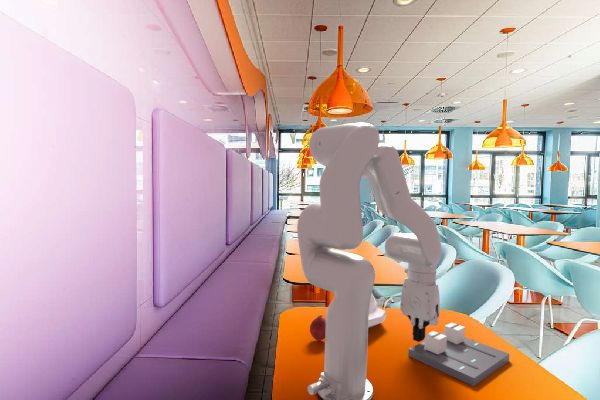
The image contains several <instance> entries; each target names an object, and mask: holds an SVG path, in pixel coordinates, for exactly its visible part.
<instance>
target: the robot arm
mask: <svg viewBox="0 0 600 400" xmlns="http://www.w3.org/2000/svg"><path fill="white" fill-rule="evenodd" d="M380 141H381V140H380V132H379V130H378V128H377V126H375V125H373V124H370V123H366V122H355V123H354V122H351V123H344V124H339V125H331V126H324V127H323V126H322V127H320V128H317V129H316V130H315V131H314V132H313V133H312V134H311V136H310V138H309V142H308V143H309V144H308V147H309V148H308V149H309V153H310V154H311V156H312V158H313V160H315V161H316V162H317V163H318V164H320V165H322V166H324V170H323V171H322V174H321V177H320V180H319V187H318V188H319V202H320V203H312V204H309V205H307V206H306V207H304V209H303V210H301V213H300V214H299V216H298V220H297V226H296V227H297V228H296V232H297V233H296V234H297V241H298V247H299V249H298V250H299V255H300V261H301V268H302V272H303V276H304V278H305V279H306V281H307V282H308V283H309V284H310V285H312V286H314V287H317V288H320V289H323V290H326V291H327V292H330V293H332V294H334V295H333V296H334V297H333V299H332V301H331V302H330V304H329V305H328V306H327V309H326V314H325V320H326V331H325V338H324V339H325V341H324V364H323V365H324V369H323V372H321V373H320V377H319V378H318V380H317V381H316V382H313V383H311V384H310V385H308V386H307V392H308V393H309V395H310V396H314V395H315V394H318V395H319V397H320V398H322V399H323V400H372V398H373V395H374V393H373V392H374V388H373V385H372V383H371V382H370V381H369V380H368V379H367V373H368V372H367V370H368V369H367V367H368V366H367V365H368V345H369V344H368V343H369V341H368V340H369V328H368V319H369V306H370V299H371V294H372V293H373V289H374V286H375V280H376V271H375V267H374V266H373V265H372V263H371V262H370V261H369V260H368V259H367V258H365V257H364V256H361V255H360V254H359V255H358V254H356V253H352V252H349V251H353V250H356V249H358V248H359V246H360V245H361V244H362V242H363V238H364V223H363V213H362V203H361V190H360V187H361V186H360V184H361V179H367V181H368V183H369V186H370V190H371V193H372V196H373V198H374V199H373V200H374V202H375V205H376V208H377V209H378V210H379V212H381V213H382V214H383V215H385V216H387V217H388V218H390V219H392V220H394V221H396V222H398V223H399V224H401V225H403V226H404V227H406V228H407V229H408V230H409V231H411V233H408V232H407V233H406V232H396V233H392V234H391V235H390V236H388V238H387V239H386V240H385V242H384V250H385V253H386V255H387V256H388V257H389V258H390V259H392V260H394V261H397V262H403V263H406V264H407V267H406V268H405V269H404V273H406V274H407V277H405V278H404V281H403V285H402V289H401V293H400V305H399V308H400V311H401V313H402V314H403V315H404V316H406V317H407V318H408V320H409V321H410V325H411V326H412V341H414V342H417V343H421V341H422V342H423V341H425V335H426V328H427V327H428V326H435V327H436V326H437V325H439V319H438V318H439V317H440V313H441V312H440V311H441V310H440V309H441V300H440V288H439V283H438V282H437V264H438V263H439V262H440V260H441V257H442V244H441V238H440V234H439V230H438V228H437V225H436V222H435V221H434V220H433V218H432V217H431V216H430V214H428V212H426V210H424V208H423V207H422V206H421V205H420V204H418V203H417V202H416V201H415V200H414V199H413V198H412V197H411V194H410V190H409V187H408V183H407V180H406V176H405V172H404V168H403V165H402V162H401V158H400V154H399V152H398V150H397V149H396V148H395V146H394V145H392V144H389V143H382V142H381V143H380ZM347 251H348V252H347Z"/></svg>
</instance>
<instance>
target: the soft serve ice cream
mask: <svg viewBox="0 0 600 400" xmlns="http://www.w3.org/2000/svg"><path fill="white" fill-rule="evenodd" d="M386 318H387V312H386V310H384V309H381V308H380V307H379V306H378V302H377V300H376V299H375V296H374V293H373V292H372V294H371V299H370V306H369V319H368V329H369V328H372V327H375V326H376V325H379V324H381V323H383V322H384V321H385V319H386Z"/></svg>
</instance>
